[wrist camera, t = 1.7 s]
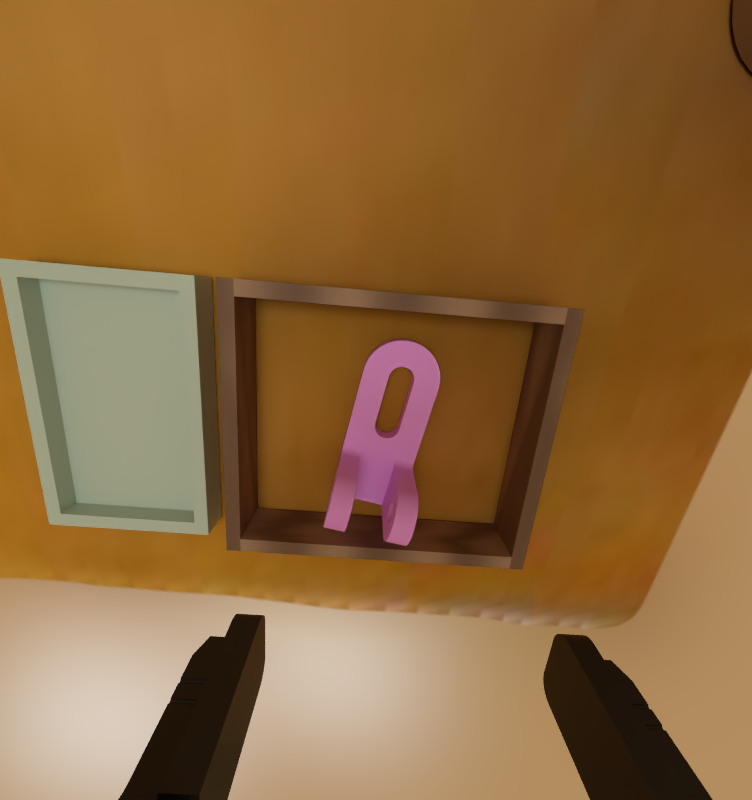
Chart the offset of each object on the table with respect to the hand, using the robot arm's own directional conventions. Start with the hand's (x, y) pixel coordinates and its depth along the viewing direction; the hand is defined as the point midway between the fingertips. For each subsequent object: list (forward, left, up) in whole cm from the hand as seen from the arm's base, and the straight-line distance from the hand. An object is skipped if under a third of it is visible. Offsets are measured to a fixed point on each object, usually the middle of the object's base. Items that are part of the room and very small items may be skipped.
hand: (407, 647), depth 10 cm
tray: (+19, 0, -19) cm, 27 cm away
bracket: (0, 0, -19) cm, 19 cm away
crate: (0, 0, -19) cm, 19 cm away
